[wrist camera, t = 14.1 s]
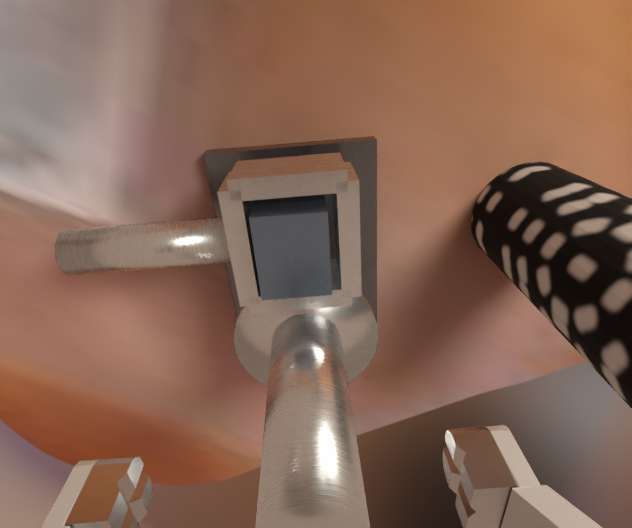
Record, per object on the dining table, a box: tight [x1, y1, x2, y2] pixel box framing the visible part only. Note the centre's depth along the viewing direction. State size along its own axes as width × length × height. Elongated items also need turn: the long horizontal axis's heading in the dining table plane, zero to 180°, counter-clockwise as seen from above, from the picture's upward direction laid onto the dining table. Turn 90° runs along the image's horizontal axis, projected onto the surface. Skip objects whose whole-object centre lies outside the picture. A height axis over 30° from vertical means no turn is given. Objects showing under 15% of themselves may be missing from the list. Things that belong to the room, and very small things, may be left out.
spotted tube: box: [471, 162, 632, 408], centre depth 23 cm, size 8×8×20 cm
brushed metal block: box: [249, 194, 332, 300], centre depth 25 cm, size 5×4×9 cm
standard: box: [55, 136, 378, 528], centre depth 23 cm, size 17×20×20 cm
